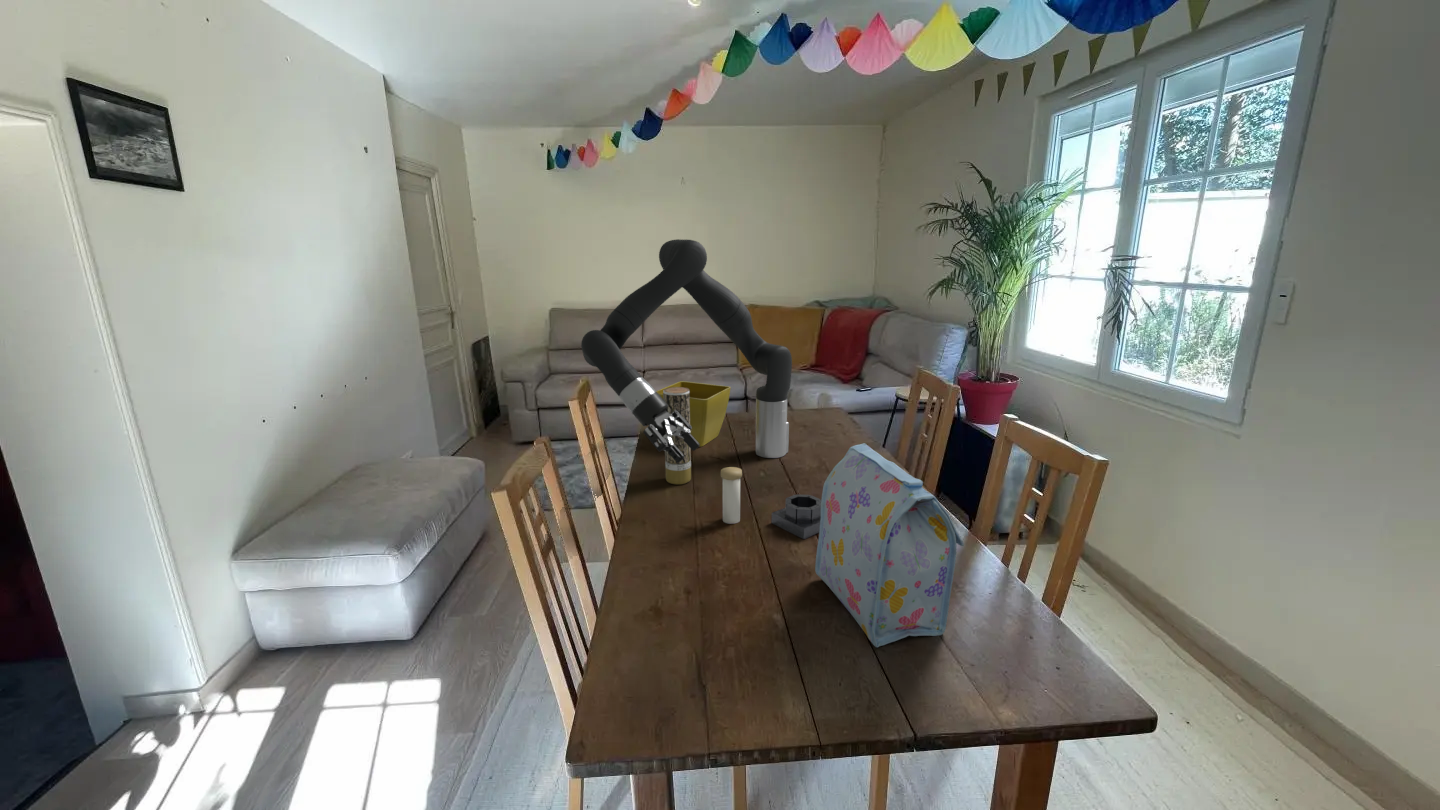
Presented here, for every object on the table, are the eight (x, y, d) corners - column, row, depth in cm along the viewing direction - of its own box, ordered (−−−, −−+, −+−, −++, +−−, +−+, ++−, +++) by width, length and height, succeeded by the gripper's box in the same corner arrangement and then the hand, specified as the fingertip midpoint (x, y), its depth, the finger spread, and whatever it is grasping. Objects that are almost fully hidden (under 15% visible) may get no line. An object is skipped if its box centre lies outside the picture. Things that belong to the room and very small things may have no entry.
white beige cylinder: (732, 513, 138) (732, 465, 134) (746, 520, 134) (746, 471, 131) (716, 519, 135) (716, 470, 132) (729, 526, 131) (730, 476, 128)
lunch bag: (964, 635, 94) (983, 482, 87) (871, 656, 89) (883, 496, 82) (887, 565, 115) (897, 437, 108) (809, 579, 110) (814, 446, 103)
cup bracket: (802, 510, 139) (802, 489, 137) (834, 525, 131) (835, 503, 130) (771, 522, 133) (771, 500, 131) (803, 539, 125) (804, 515, 124)
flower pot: (731, 434, 196) (731, 385, 191) (706, 452, 179) (706, 399, 175) (681, 427, 203) (680, 380, 199) (653, 444, 187) (651, 393, 182)
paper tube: (692, 476, 160) (691, 387, 154) (689, 486, 153) (687, 393, 147) (668, 475, 161) (665, 386, 154) (663, 485, 154) (660, 393, 148)
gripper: (637, 398, 127) (686, 454, 126) (667, 384, 140) (711, 435, 139) (618, 419, 130) (665, 474, 129) (648, 404, 143) (691, 453, 142)
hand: (689, 454), depth 134 cm, fingers open, 8 cm apart
